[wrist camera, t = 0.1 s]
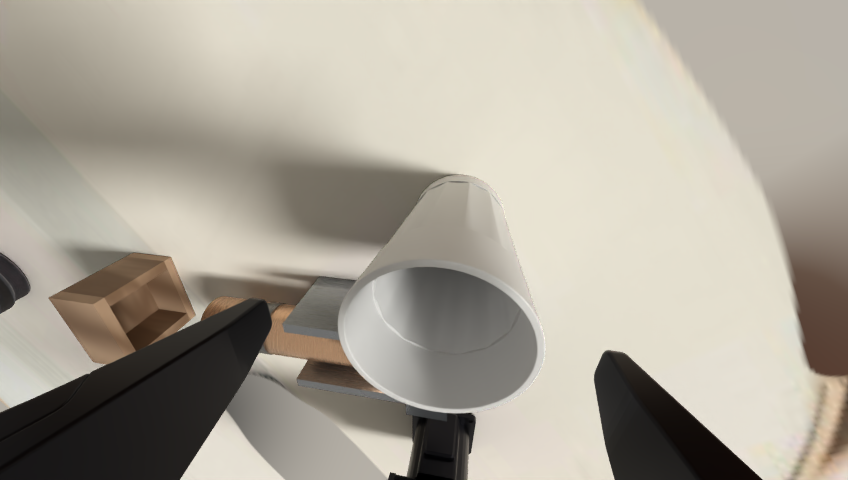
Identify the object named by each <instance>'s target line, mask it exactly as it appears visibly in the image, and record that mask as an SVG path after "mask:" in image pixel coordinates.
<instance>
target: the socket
mask: <svg viewBox="0 0 848 480" xmlns="http://www.w3.org/2000/svg"><path fill="white" fill-rule="evenodd" d="M49 299H50V301H51V302H52V304H53V305H54V307H55V308H56V309H57V311H58V312H59V314H60V315H61V317H62V318H63V319H64V321H65V322H66V324H67V325H68V327H69V328H70V330H71V331H72V332H73V334H74V335H75V337H76V338H77V340H78V341H79V342H80V344H81V345H82V347H83V348H84V350H85V351H86V352H87V354H88V355H89V357H90V358H91V360H92V361H93V362H96V363H101V364H109V363H111V362H114V361H116V360H118V359H120V358H122V357H124V356H127V355H129V354H131V353H133V352H135V351H137V350H139V349H142V348H144V347H146V346H148V345H150V344H152V343H154V342H157V341H159V340H161V339H163V338H165V337H167V336H170V335H172V334H174V333H176V332H177V331H178V330H179V329H180V328H181V327H183V326H184V325H185V324H186V323H187V322H188V321H190V320H191V319H192V318H193V317H194V316H195V313H194V310H193V308H192V306H191V303H190V301H189V299H188V296H187V294H186V292H185V289H184V287H183V285H182V282H181V280H180V278H179V275H178V273H177V271H176V268H175V266H174V264H173V261H172V259H171V257H165V256H157V255H148V254H140V253H132V254H130V255H128V256H126V257H124V258H122V259H121V260H119V261H117V262H115V263H113V264H111V265H109V266H107V267H106V268H104V269H102V270H100V271H98V272H96V273H94V274H92V275H90V276H89V277H87V278H85V279H83V280H81V281H79V282H77V283H75V284H74V285H72V286H70V287H68V288H66V289H64V290H62V291H60V292H58V293H57V294H55V295H53V296H51V297H49Z"/></svg>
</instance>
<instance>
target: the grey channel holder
mask: <svg viewBox="0 0 848 480" xmlns="http://www.w3.org/2000/svg"><path fill="white" fill-rule="evenodd" d="M355 282H356V281H354V280H345V279H337V278H328V277H320V276H319V278H318V279H317V280H316V281H315V283H314V284H313V285H312V287H311V288H310V289H309V290H308V292H307V293H306V294H305V295H304V297H303V298H302V299H301V301H300V302H299V303H298V304H297V306H296V307H295V308H294V309H293V311H292V312H291V313H290V314H289V316H288V317H287V318H286V320H285V321H284V322H283V323H282V325H283V329H284V332H286V333H293V334H300V335H307V336H314V337H320V338H327V339H334V340H340V339H339V335H338V315H339V310H340V307H341V304H342V302H343V299H344V298H345V296H346V294H347V293H348V291H349V290H350V289H351V287H352V286H353V285H354V284H355ZM297 382H298V386H304V387H310V388H315V389H321V390H327V391H333V392H339V393H345V394H351V395H356V396H362V397H368V398H374V399H380V400H386V401H392V402H398V403H403V402H400V401H398V400H396V399H394V398H392V397H390V396H388V395H386V394H384V393H383V392H381V391H380V390H378V389H377V388H375V387H374V386H373V385H371V384H370V383H369V382H368V381H367V380H365V379H364V378H363V377H362V376H361V375H360V374H359V373H358V372H357V370H356V369H355V368H354V367H351V366H345V365H338V364H332V363H326V362H319V361H313V360H308V361H307V363H306V364H305V366H304V368H303V369H302V371H301V373H300V374H299V376H298V378H297ZM403 404H405V403H403ZM406 414H407V415H413V416H419V417H424V418H430V419H436V420H442V421H447V414H448V413H443V412H435V411H429V410H425V409H421V408H417V407H414V406H411V405H408V404H406Z"/></svg>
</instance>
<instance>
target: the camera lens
mask: <svg viewBox="0 0 848 480" xmlns="http://www.w3.org/2000/svg"><path fill="white" fill-rule="evenodd" d="M29 291H30V285H29V283H28V280H27V278H26V277H25V275H24V274H23V273H22V271H21V270H20V269H19V268H18V267H17V266H16V265H15V264H14V263H13V262H11V261H10V260H9V259H8V258H6V257H5V256H3V255H2V254H0V314H1V313H2V312H4V311H6V310H8V309H10V308H11V307H12V306H13V305H14V303H15V301H16V300H18V299H20V298H22V297H24V296H25V295H27V294H28V293H29Z"/></svg>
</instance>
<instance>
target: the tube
mask: <svg viewBox="0 0 848 480" xmlns="http://www.w3.org/2000/svg"><path fill="white" fill-rule="evenodd" d="M245 300H247V299H242V298H234V297H227V296H222V297H219V298H217V299H215V300H214V301H212V302H211V303H210V304H209V305H208V307H207V308H206V310H205V311H204V313H203V315H202V318H201V321H202V320H204V319H206V318H208V317H210V316H213V315H215V314H217V313H219V312H221V311H223V310H226V309H228V308H230V307H232V306H234V305H236V304H238V303H241V302H243V301H245ZM267 304H268V307H269V311H270V315H271V319H272V327H271V330H270V332H269V334H268V336H267V338H266V340H265V342H264V344H263V346H262V348H261V349H260V351H259V353H264V354H271V355H273V354H275V355H281V356H288V357H294V358H300V359H307V360H313V361H319V362H326V363H332V364H338V365H345V366H351V367H353V365H352V364H351V363H350V361H349V360H348V358H347V356H346V354H345V353H344V350H343V348H342V345H341V343H340V340H334V339H327V338H320V337H314V336H307V335H300V334H293V333H286V332H284V329H283V325H282V323H283V322H284V321H285V320H286V318H287V317H288V316H289V314H290V313H291V312H292V311H293V309H294V308H295V307H296V306H294V305H287V304H284V303H276V302H267Z"/></svg>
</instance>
